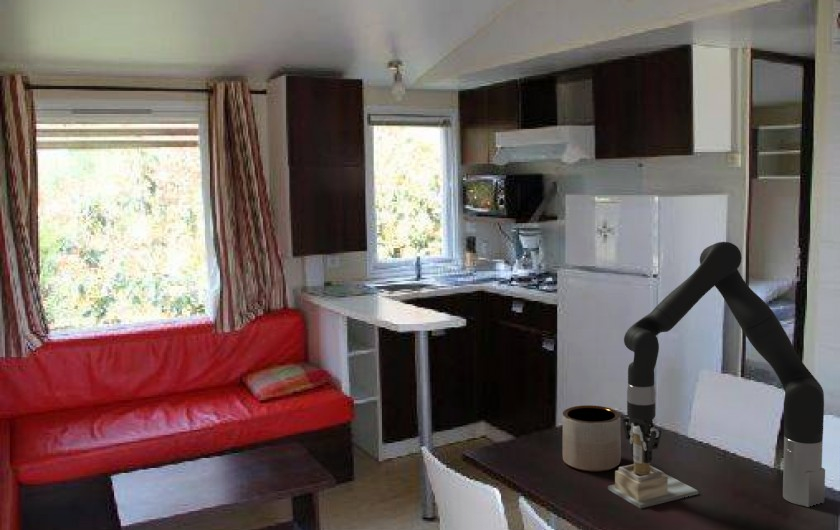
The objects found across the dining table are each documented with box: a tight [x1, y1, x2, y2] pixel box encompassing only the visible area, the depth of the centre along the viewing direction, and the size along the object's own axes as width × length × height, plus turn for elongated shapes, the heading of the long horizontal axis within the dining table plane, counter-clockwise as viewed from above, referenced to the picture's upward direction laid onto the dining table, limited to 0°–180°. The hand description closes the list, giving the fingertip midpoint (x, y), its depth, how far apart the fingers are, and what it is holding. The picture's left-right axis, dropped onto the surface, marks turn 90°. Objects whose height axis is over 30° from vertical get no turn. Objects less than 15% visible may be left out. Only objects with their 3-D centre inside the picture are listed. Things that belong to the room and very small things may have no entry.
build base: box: [607, 463, 699, 509], centre depth 212 cm, size 14×20×7 cm
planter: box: [562, 404, 622, 472], centre depth 234 cm, size 18×18×16 cm
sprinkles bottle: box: [632, 426, 651, 475], centre depth 209 cm, size 5×5×14 cm
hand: (641, 459), depth 209 cm, fingers closed on sprinkles bottle, 4 cm apart
